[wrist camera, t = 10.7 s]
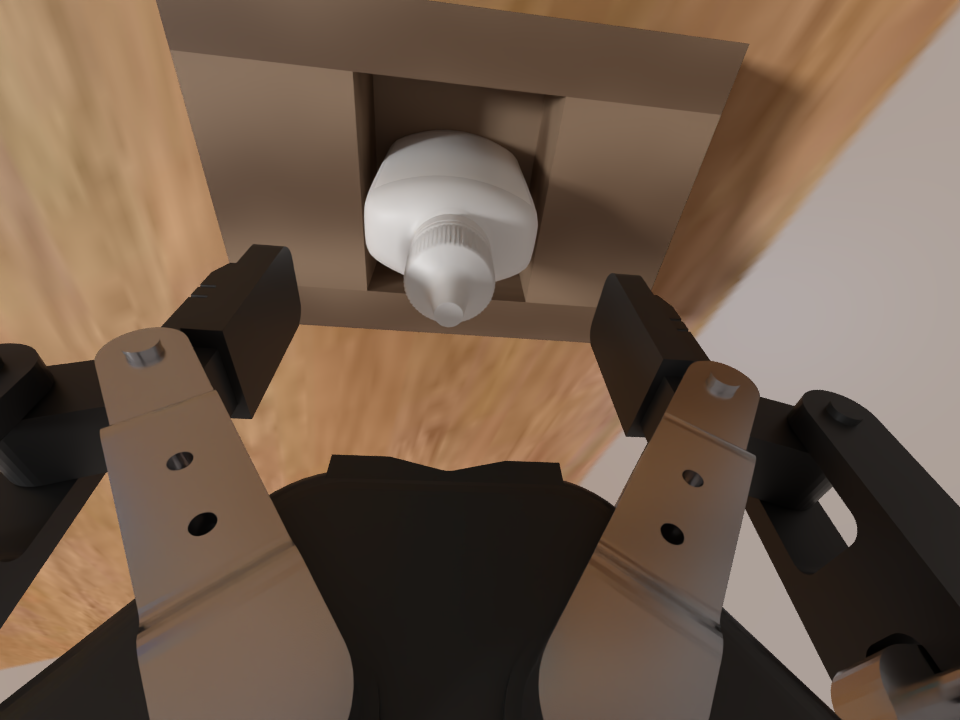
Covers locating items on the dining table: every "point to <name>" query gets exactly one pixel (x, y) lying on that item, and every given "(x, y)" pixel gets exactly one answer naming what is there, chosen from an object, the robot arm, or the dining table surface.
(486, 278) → the eye dropper bottle
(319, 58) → the walnut holder
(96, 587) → the dining table surface
